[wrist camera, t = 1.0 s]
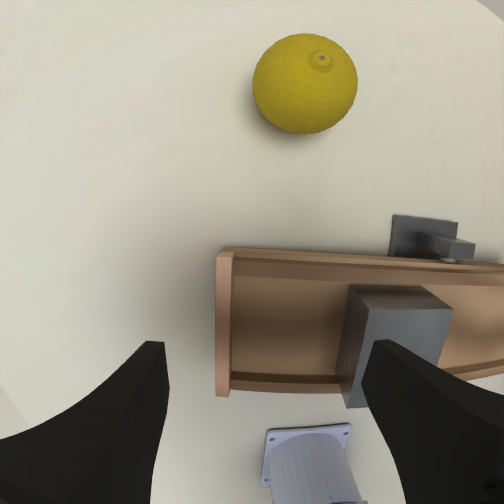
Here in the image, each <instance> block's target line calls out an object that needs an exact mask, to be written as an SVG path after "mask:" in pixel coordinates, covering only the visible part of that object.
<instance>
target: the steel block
mask: <svg viewBox="0 0 504 504" xmlns="http://www.w3.org/2000/svg"><path fill="white" fill-rule="evenodd" d="M453 310H454V309H453V308H452V307H450V306H449V305H448V304H446V303H445V302H444V301H442V300H441V299H439V298H438V297H437V296H435V295H434V294H433V293H431V292H430V291H428V290H427V289H426V288H424V287H423V286H399V285H370V284H349V291H348V298H347V304H346V311H345V317H344V323H343V329H342V335H341V340H340V345H339V351H338V356H337V361H336V366H335V373H336V376H337V380H338V383H339V386H340V389H341V392H342V396H343V399H344V402H345V405H346V408H363V407H368V404H367V401H366V398H365V396H364V392H363V389H362V386H361V381H362V378H363V375H364V372H365V369H366V366H367V363H368V359H369V356H370V353H371V350H372V346H373V343H374V340H382V339H390V340H392V341H394V342H396V343H398V344H400V345H401V346H403V347H405V348H406V349H408V350H410V351H411V352H413V353H415V354H416V355H418V356H420V357H421V358H423V359H425V360H426V361H428V362H430V363H431V364H433V365H435V366H437V364H438V361H439V358H440V355H441V352H442V349H443V346H444V343H445V339H446V336H447V332H448V329H449V325H450V321H451V318H452V314H453Z"/></svg>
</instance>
